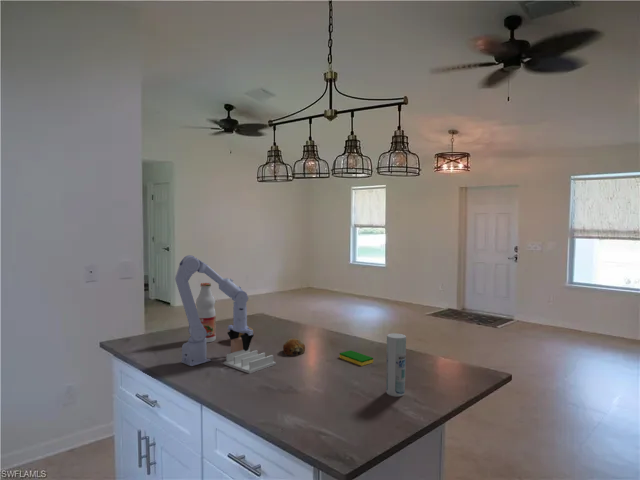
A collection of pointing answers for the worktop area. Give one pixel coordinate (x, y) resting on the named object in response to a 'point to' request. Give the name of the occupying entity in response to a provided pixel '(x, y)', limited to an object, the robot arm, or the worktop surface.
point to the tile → (236, 345)
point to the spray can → (396, 364)
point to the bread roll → (294, 347)
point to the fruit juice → (207, 311)
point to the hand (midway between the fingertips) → (240, 349)
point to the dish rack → (248, 360)
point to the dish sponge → (356, 358)
